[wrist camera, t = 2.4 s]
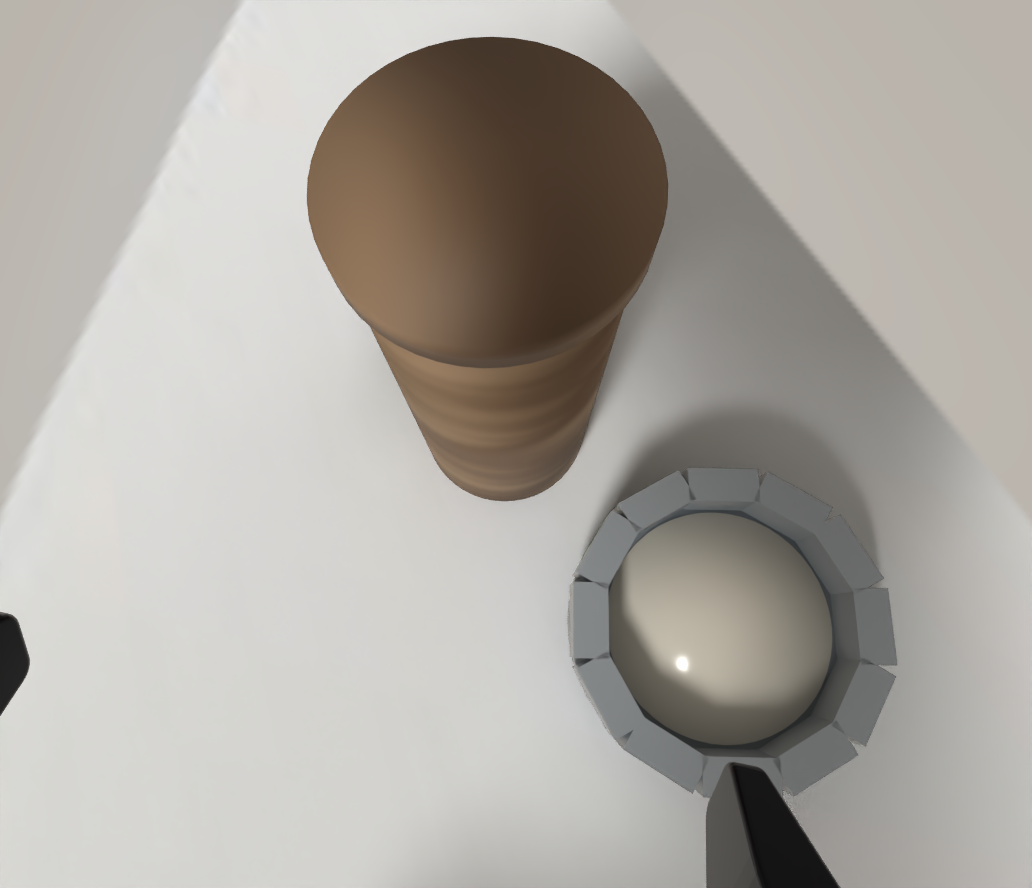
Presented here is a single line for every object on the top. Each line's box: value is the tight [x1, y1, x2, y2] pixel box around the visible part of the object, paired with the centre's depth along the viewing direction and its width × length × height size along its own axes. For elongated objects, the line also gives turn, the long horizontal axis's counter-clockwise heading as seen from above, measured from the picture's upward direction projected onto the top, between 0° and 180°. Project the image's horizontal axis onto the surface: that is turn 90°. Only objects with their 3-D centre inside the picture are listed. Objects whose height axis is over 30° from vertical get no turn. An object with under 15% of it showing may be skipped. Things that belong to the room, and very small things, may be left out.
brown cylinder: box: [307, 37, 668, 501], centre depth 17 cm, size 6×6×13 cm
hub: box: [568, 468, 897, 798], centre depth 21 cm, size 9×9×2 cm
